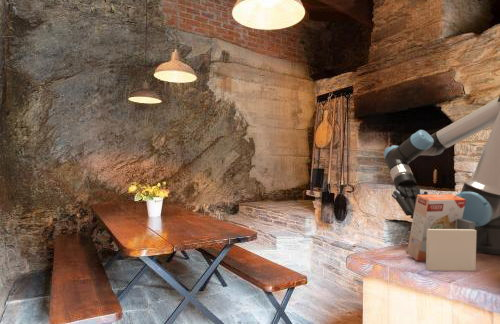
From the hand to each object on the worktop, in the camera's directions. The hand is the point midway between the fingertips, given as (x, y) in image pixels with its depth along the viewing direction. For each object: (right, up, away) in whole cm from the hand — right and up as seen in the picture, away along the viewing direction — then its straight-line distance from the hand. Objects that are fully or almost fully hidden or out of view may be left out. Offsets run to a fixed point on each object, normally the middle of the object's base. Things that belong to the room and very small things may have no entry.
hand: (425, 231), depth 115 cm
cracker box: (0, -8, -2) cm, 8 cm away
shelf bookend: (0, -8, -10) cm, 13 cm away
